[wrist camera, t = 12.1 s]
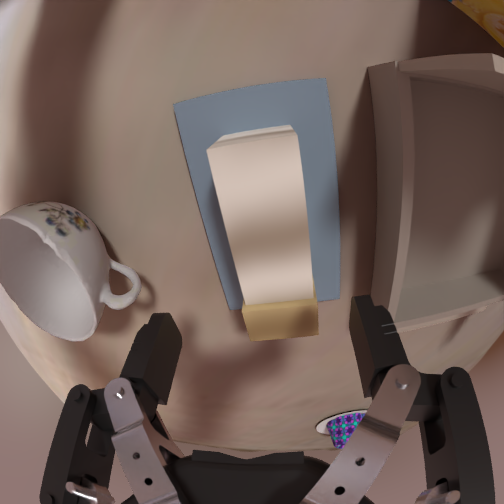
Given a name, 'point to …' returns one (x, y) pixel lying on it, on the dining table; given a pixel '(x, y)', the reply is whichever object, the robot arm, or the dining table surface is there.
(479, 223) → the carton
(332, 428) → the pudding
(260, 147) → the block
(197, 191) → the mat
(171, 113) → the dining table surface
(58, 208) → the teacup
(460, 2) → the beverage box
